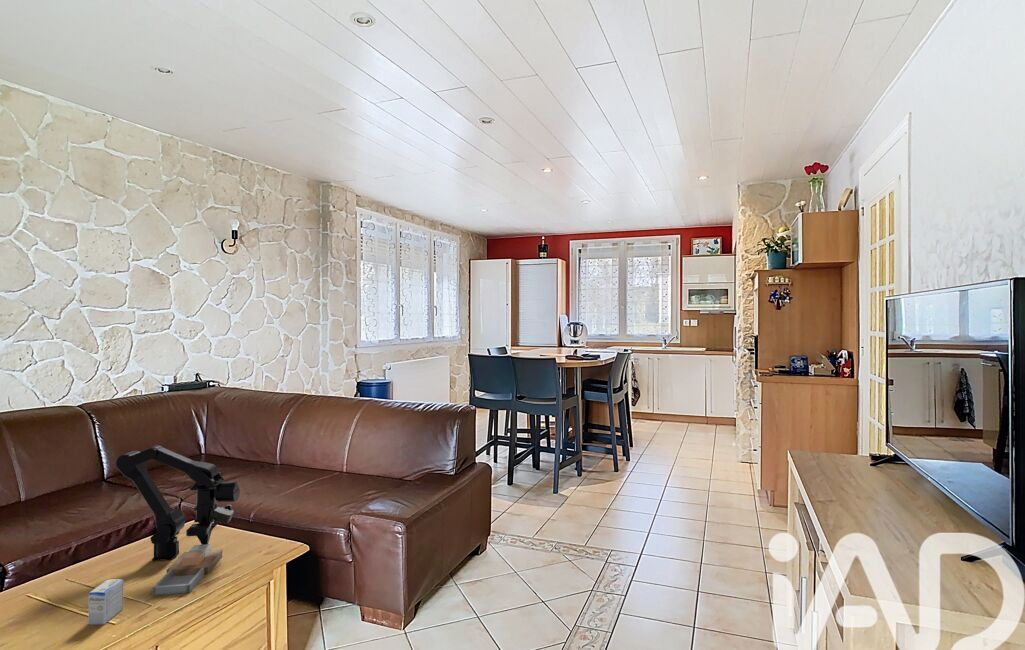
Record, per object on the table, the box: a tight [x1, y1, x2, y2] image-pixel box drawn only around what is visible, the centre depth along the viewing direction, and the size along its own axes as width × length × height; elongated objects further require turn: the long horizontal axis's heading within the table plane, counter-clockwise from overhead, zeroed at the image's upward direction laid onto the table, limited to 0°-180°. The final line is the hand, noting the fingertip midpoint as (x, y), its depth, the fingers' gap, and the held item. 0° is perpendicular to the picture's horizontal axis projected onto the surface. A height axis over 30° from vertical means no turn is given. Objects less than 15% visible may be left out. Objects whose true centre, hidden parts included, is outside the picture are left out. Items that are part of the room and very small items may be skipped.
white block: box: [188, 543, 211, 558], centre depth 187 cm, size 5×5×2 cm
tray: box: [152, 568, 205, 596], centre depth 171 cm, size 10×12×2 cm
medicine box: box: [87, 578, 124, 626], centre depth 152 cm, size 8×4×9 cm, turn 5°
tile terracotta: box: [182, 551, 204, 566], centre depth 182 cm, size 5×5×2 cm
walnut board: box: [166, 549, 223, 576], centre depth 184 cm, size 12×14×2 cm
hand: (205, 547), depth 193 cm, fingers closed
